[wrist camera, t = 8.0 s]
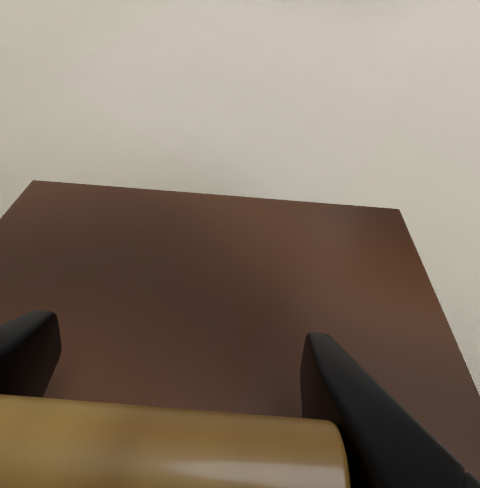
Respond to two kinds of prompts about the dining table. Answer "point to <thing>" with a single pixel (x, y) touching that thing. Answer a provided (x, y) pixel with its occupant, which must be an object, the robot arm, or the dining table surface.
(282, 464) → the tea lid
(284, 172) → the dining table surface
